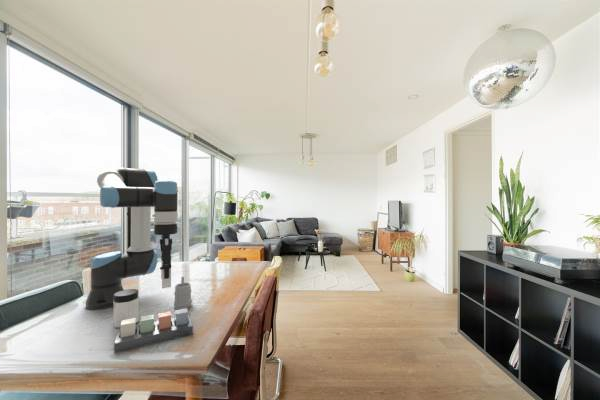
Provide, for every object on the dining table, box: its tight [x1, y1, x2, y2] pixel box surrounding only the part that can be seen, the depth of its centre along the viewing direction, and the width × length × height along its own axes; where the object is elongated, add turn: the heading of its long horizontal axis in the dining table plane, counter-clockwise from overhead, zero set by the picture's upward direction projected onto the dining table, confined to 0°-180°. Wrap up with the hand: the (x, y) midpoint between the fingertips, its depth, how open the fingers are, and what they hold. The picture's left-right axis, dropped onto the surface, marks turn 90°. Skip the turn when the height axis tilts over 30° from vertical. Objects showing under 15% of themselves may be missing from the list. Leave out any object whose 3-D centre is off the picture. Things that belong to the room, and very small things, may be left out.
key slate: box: [174, 308, 189, 326], centre depth 95 cm, size 4×4×4 cm
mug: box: [173, 276, 193, 310], centre depth 119 cm, size 8×12×12 cm, turn 26°
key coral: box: [158, 310, 172, 329], centre depth 92 cm, size 4×4×4 cm
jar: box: [112, 288, 140, 329], centre depth 101 cm, size 9×8×12 cm
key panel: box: [113, 314, 194, 354], centre depth 91 cm, size 11×23×3 cm, turn 119°
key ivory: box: [120, 318, 137, 338], centre depth 87 cm, size 4×4×4 cm
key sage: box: [139, 314, 155, 334], centre depth 90 cm, size 4×4×4 cm
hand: (165, 282), depth 93 cm, fingers open, 12 cm apart
